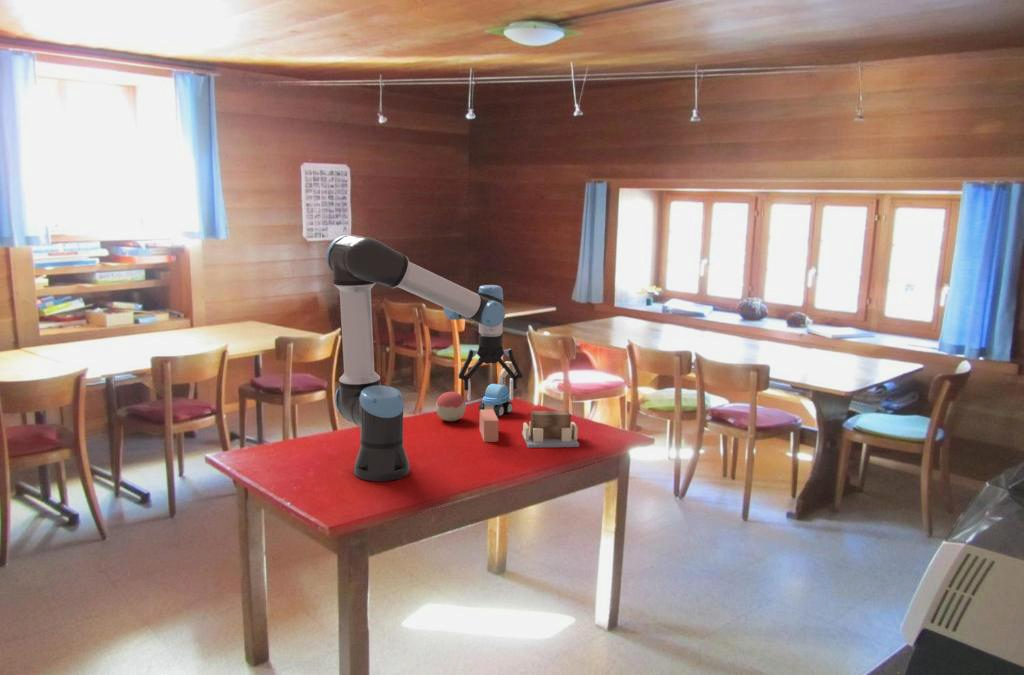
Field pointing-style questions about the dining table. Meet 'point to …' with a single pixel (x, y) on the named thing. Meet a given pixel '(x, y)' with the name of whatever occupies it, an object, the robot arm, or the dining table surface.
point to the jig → (566, 439)
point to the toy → (450, 406)
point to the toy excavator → (498, 395)
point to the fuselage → (550, 423)
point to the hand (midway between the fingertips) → (490, 399)
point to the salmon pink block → (489, 425)
